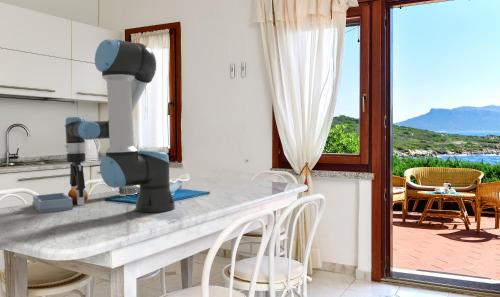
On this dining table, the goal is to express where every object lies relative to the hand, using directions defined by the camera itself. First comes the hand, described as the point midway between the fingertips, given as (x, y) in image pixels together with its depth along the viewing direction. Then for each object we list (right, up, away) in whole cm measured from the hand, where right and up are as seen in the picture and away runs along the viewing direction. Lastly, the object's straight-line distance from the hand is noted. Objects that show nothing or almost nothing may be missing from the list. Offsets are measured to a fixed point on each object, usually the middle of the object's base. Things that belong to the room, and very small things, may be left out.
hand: (77, 202), depth 193 cm
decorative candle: (+16, +1, +21) cm, 27 cm away
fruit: (0, 0, 0) cm, 0 cm away
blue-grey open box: (-7, -1, -9) cm, 11 cm away
